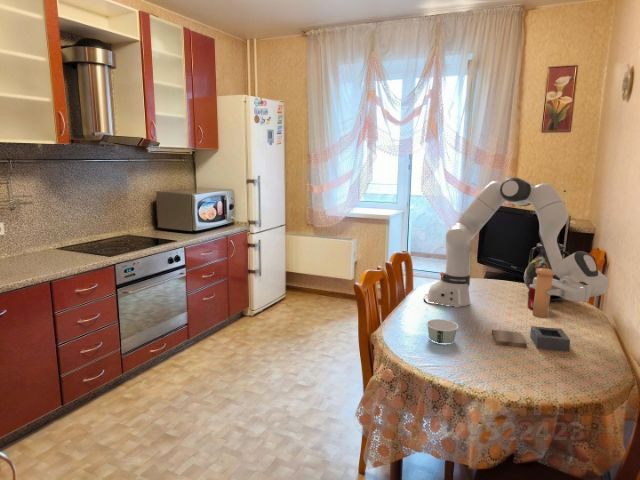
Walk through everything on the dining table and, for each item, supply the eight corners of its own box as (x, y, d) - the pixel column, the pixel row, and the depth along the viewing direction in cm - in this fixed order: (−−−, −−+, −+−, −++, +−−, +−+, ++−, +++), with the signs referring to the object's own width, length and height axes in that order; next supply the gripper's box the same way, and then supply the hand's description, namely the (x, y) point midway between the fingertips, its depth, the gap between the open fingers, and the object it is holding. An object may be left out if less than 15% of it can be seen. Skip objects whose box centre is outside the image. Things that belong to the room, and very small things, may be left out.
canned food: (548, 311, 203) (551, 288, 201) (531, 311, 203) (534, 288, 201) (541, 305, 210) (543, 283, 208) (524, 305, 211) (526, 283, 208)
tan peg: (532, 318, 164) (538, 271, 160) (529, 312, 170) (534, 267, 166) (551, 319, 162) (557, 273, 159) (546, 313, 168) (552, 268, 165)
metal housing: (536, 348, 163) (537, 337, 162) (530, 336, 173) (531, 326, 173) (568, 351, 160) (570, 340, 159) (560, 339, 171) (561, 328, 170)
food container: (458, 348, 163) (460, 331, 161) (426, 345, 165) (427, 329, 164) (455, 335, 174) (457, 320, 173) (425, 333, 177) (426, 317, 175)
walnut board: (495, 344, 166) (495, 340, 166) (491, 333, 177) (491, 329, 176) (526, 347, 164) (526, 343, 163) (520, 335, 174) (520, 332, 174)
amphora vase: (515, 297, 222) (520, 244, 217) (531, 289, 237) (536, 238, 232) (561, 308, 207) (567, 250, 202) (575, 298, 222) (581, 244, 217)
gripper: (550, 272, 177) (522, 274, 173) (594, 286, 157) (563, 289, 154) (548, 287, 178) (520, 289, 174) (592, 303, 159) (561, 306, 155)
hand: (541, 289), depth 164 cm, fingers closed on tan peg, 5 cm apart
